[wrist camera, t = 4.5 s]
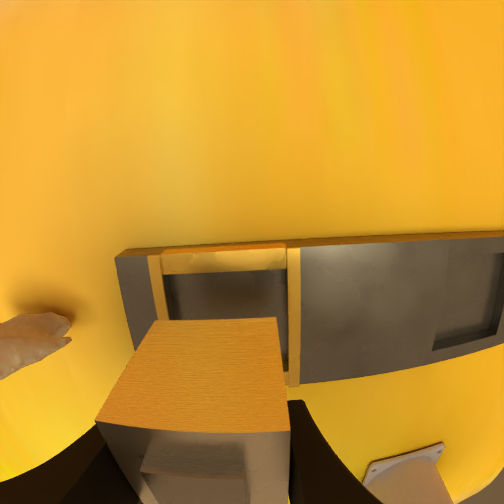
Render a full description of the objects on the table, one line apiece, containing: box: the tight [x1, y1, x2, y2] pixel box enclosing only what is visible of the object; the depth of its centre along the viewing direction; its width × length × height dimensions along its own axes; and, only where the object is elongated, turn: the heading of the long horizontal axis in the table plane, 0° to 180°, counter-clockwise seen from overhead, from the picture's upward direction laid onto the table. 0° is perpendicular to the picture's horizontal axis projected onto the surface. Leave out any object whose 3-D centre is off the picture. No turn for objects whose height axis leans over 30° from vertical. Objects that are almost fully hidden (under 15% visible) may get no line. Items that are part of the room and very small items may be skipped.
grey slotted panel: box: [115, 231, 504, 387], centre depth 16 cm, size 8×26×2 cm, turn 93°
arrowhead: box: [0, 312, 72, 380], centre depth 12 cm, size 8×3×10 cm, turn 93°
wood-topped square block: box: [94, 317, 291, 504], centre depth 9 cm, size 4×4×6 cm
